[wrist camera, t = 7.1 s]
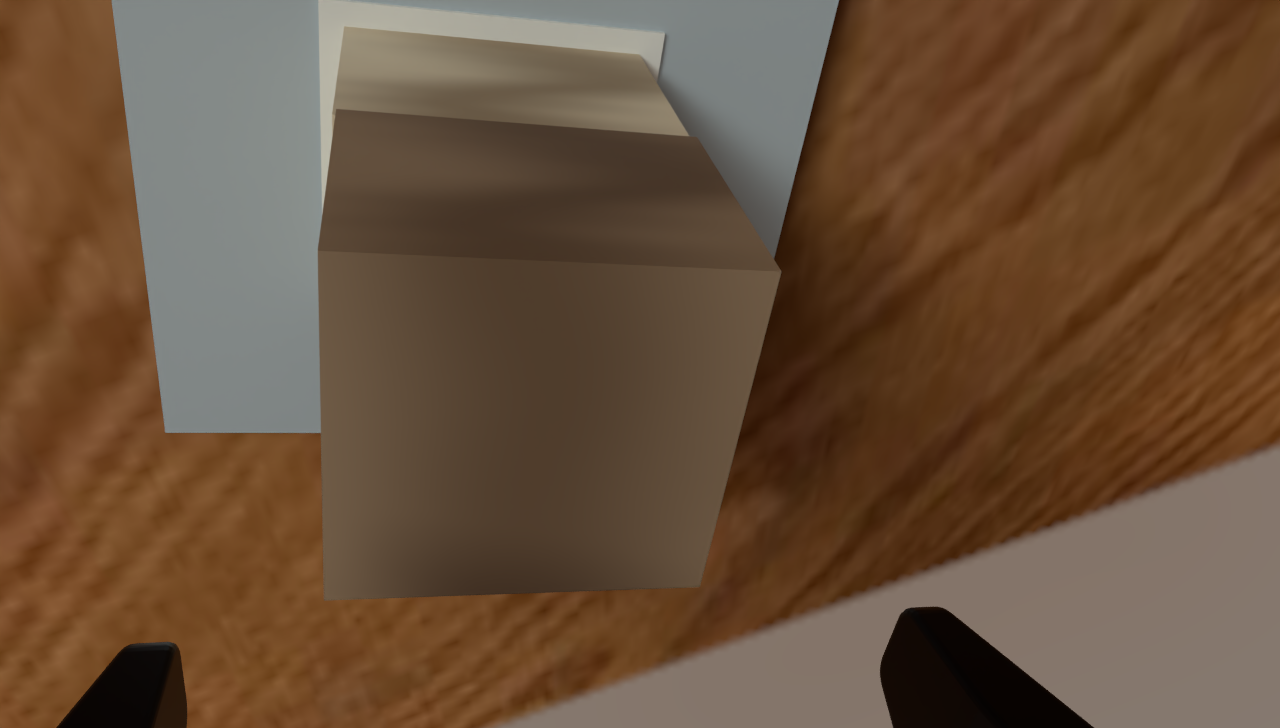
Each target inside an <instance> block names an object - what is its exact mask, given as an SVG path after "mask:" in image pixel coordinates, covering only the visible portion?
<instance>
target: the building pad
mask: <svg viewBox="0 0 1280 728" xmlns="http://www.w3.org/2000/svg"><path fill="white" fill-rule="evenodd" d="M838 2H839V0H112V7H113V15H114V23H115V31H116V39H117V47H118V55H119V63H120V71H121V79H122V87H123V95H124V103H125V111H126V119H127V127H128V135H129V143H130V151H131V160H132V168H133V176H134V184H135V192H136V200H137V208H138V216H139V224H140V232H141V240H142V248H143V256H144V264H145V272H146V280H147V288H148V296H149V304H150V312H151V321H152V329H153V337H154V345H155V353H156V361H157V369H158V377H159V385H160V393H161V401H162V409H163V417H164V425H165V433H321V410H320V356H319V302H318V244H319V236H320V228H321V221H322V213H323V205H324V198H325V190H326V182H327V175H328V167H329V159H330V152H331V144H332V111H333V104H334V97H335V89H336V82H337V75H338V68H339V60H340V53H341V46H342V39H343V31H344V26H346V27H357V28H367V29H378V30H388V31H399V32H409V33H420V34H430V35H441V36H451V37H462V38H472V39H483V40H493V41H504V42H514V43H525V44H535V45H546V46H556V47H567V48H577V49H588V50H598V51H608V52H619V53H629V54H639V55H640V56H641V58H642V59H643V61H644V63H645V64H646V66H647V68H648V69H649V71H650V73H651V74H652V76H653V77H654V79H655V81H656V82H657V84H658V86H659V87H660V89H661V91H662V92H663V94H664V95H665V97H666V99H667V100H668V102H669V104H670V105H671V107H672V108H673V110H674V112H675V113H676V115H677V117H678V118H679V120H680V122H681V123H682V125H683V126H684V128H685V130H686V131H687V133H688V135H689V136H691V137H697V138H698V139H699V141H700V142H701V144H702V146H703V147H704V149H705V150H706V152H707V154H708V155H709V157H710V158H711V160H712V162H713V163H714V165H715V166H716V168H717V169H718V171H719V173H720V174H721V176H722V177H723V179H724V181H725V182H726V184H727V185H728V187H729V189H730V190H731V192H732V193H733V195H734V197H735V198H736V200H737V201H738V203H739V205H740V206H741V208H742V209H743V211H744V213H745V214H746V216H747V217H748V219H749V221H750V222H751V224H752V225H753V227H754V228H755V230H756V232H757V233H758V235H759V236H760V238H761V240H762V241H763V243H764V244H765V246H766V248H767V249H768V251H769V252H770V254H771V256H772V257H773V259H774V257H775V253H776V249H777V245H778V241H779V237H780V233H781V229H782V225H783V221H784V217H785V213H786V209H787V205H788V201H789V197H790V193H791V189H792V185H793V181H794V177H795V174H796V170H797V166H798V162H799V158H800V154H801V150H802V146H803V142H804V138H805V134H806V130H807V126H808V122H809V118H810V114H811V110H812V106H813V102H814V98H815V94H816V90H817V86H818V82H819V78H820V74H821V70H822V66H823V62H824V58H825V54H826V50H827V46H828V42H829V38H830V34H831V30H832V26H833V22H834V18H835V14H836V10H837V6H838Z"/></svg>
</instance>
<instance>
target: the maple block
mask: <svg viewBox="0 0 1280 728" xmlns="http://www.w3.org/2000/svg"><path fill="white" fill-rule="evenodd" d="M336 109H345V110H357V111H370V112H383V113H396V114H409V115H422V116H434V117H447V118H460V119H473V120H486V121H499V122H511V123H524V124H537V125H550V126H563V127H576V128H588V129H601V130H614V131H627V132H640V133H653V134H666V135H678V136H689V135H688V133H687V131H686V130H685V128H684V126H683V125H682V123H681V122H680V120H679V118H678V117H677V115H676V113H675V112H674V110H673V108H672V107H671V105H670V104H669V102H668V100H667V99H666V97H665V95H664V94H663V92H662V91H661V89H660V87H659V86H658V84H657V82H656V81H655V79H654V77H653V76H652V74H651V73H650V71H649V69H648V68H647V66H646V64H645V63H644V61H643V59H642V58H641V56H640V55H639V54H629V53H619V52H608V51H598V50H588V49H577V48H567V47H556V46H546V45H535V44H525V43H514V42H504V41H493V40H483V39H472V38H462V37H451V36H441V35H430V34H420V33H409V32H399V31H388V30H378V29H367V28H357V27H346V26H344V31H343V39H342V46H341V53H340V60H339V68H338V75H337V82H336V89H335V97H334V104H333V111H332V137H333V129H334V121H335V114H336Z"/></svg>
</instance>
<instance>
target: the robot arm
mask: <svg viewBox="0 0 1280 728" xmlns="http://www.w3.org/2000/svg"><path fill="white" fill-rule="evenodd" d="M880 677H881V683H882V688H883V691H884V695H885V699H886V702H887V706H888V710H889V713H890V718H891V720H892V725H893V728H1094V727H1092V726H1091V725H1090V724H1089V723H1088V722H1086V721H1085V720H1084V719H1082V718H1081V717H1080V716H1079V715H1077V714H1076V713H1075V712H1074V711H1073V710H1071V709H1070V708H1069V707H1068V706H1066V705H1065V704H1064V703H1063V702H1061V701H1060V700H1059V699H1057V698H1056V697H1055V696H1054V695H1053V694H1051V693H1050V692H1049V691H1048V690H1046V689H1045V688H1044V687H1043V686H1041V685H1040V684H1039V683H1038V682H1036V681H1035V680H1034V679H1033V678H1031V677H1030V676H1029V675H1028V674H1026V673H1025V672H1024V671H1023V670H1022V669H1020V668H1019V667H1018V666H1016V665H1015V664H1014V663H1013V662H1012V661H1010V660H1009V659H1008V658H1007V657H1005V656H1004V655H1003V654H1002V653H1000V652H999V651H998V650H997V649H995V648H994V647H993V646H991V645H990V644H989V643H988V642H987V641H985V640H984V639H983V638H981V637H980V636H979V635H978V634H977V633H975V632H974V631H973V630H972V629H970V628H969V627H968V626H967V625H966V624H964V623H963V622H962V621H961V620H959V619H958V618H956V617H955V616H954V615H953V614H952V613H950V612H949V611H947V610H946V609H944V608H940V607H916V608H908V609H906V610H905V611H904V612H903V613H901V615H900V616H899V619H898V621H897V623H896V626H895V628H894V630H893V633H892V635H891V638H890V640H889V643H888V645H887V647H886V650H885V652H884V655H883V657H882V661H881V667H880ZM186 726H187V700H186V692H185V685H184V678H183V670H182V663H181V655H180V651H179V648H178V647H177V645H176V644H174V643H171V642H157V643H136V644H130V645H128V646H126V647H124V648H123V649H122V650H121V651H120V652H119V653H118V654H117V656H116V657H115V658H114V659H113V660H112V662H111V663H110V664H109V665H108V666H107V667H106V669H105V670H104V671H103V672H102V673H101V675H100V676H99V677H98V678H97V679H96V681H95V682H94V683H93V684H92V685H91V687H90V688H89V689H88V690H87V691H86V693H85V694H84V695H83V696H82V697H81V699H80V700H79V701H78V702H77V703H76V705H75V706H74V707H73V708H72V709H71V711H70V712H69V713H68V714H67V715H66V717H65V718H64V719H63V720H62V721H61V723H60V724H59V725H58V726H57V727H56V728H186Z"/></svg>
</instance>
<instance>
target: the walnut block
mask: <svg viewBox="0 0 1280 728" xmlns="http://www.w3.org/2000/svg"><path fill="white" fill-rule="evenodd" d="M780 276H781V270H780V268H779V267H778V265H777V264H776V262H775V260H774V259H773V257H772V256H771V254H770V252H769V251H768V249H767V248H766V246H765V244H764V243H763V241H762V240H761V238H760V236H759V235H758V233H757V232H756V230H755V228H754V227H753V225H752V224H751V222H750V221H749V219H748V217H747V216H746V214H745V213H744V211H743V209H742V208H741V206H740V205H739V203H738V201H737V200H736V198H735V197H734V195H733V193H732V192H731V190H730V189H729V187H728V185H727V184H726V182H725V181H724V179H723V177H722V176H721V174H720V173H719V171H718V169H717V168H716V166H715V165H714V163H713V162H712V160H711V158H710V157H709V155H708V154H707V152H706V150H705V149H704V147H703V146H702V144H701V142H700V141H699V139H698V138H697V137H691V136H678V135H666V134H653V133H640V132H627V131H614V130H601V129H588V128H576V127H563V126H550V125H537V124H524V123H511V122H499V121H486V120H473V119H460V118H447V117H434V116H422V115H409V114H396V113H383V112H370V111H357V110H345V109H336V114H335V121H334V129H333V137H332V144H331V152H330V159H329V167H328V175H327V182H326V190H325V198H324V205H323V213H322V221H321V228H320V236H319V244H318V302H319V356H320V410H321V464H322V518H323V572H324V600H349V599H377V598H405V597H433V596H462V595H490V594H518V593H546V592H574V591H603V590H631V589H659V588H687V587H700V584H701V580H702V576H703V572H704V568H705V565H706V561H707V557H708V553H709V549H710V545H711V541H712V538H713V534H714V530H715V526H716V522H717V518H718V515H719V511H720V507H721V503H722V499H723V495H724V491H725V488H726V484H727V480H728V476H729V472H730V468H731V464H732V461H733V457H734V453H735V449H736V445H737V441H738V437H739V434H740V430H741V426H742V422H743V418H744V414H745V411H746V407H747V403H748V399H749V395H750V391H751V387H752V384H753V380H754V376H755V372H756V368H757V364H758V360H759V357H760V353H761V349H762V345H763V341H764V337H765V333H766V330H767V326H768V322H769V318H770V314H771V310H772V307H773V303H774V299H775V295H776V291H777V287H778V283H779V280H780Z"/></svg>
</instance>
